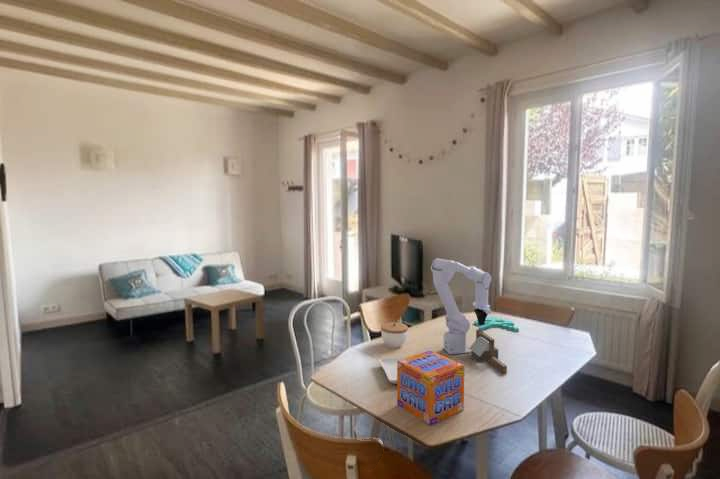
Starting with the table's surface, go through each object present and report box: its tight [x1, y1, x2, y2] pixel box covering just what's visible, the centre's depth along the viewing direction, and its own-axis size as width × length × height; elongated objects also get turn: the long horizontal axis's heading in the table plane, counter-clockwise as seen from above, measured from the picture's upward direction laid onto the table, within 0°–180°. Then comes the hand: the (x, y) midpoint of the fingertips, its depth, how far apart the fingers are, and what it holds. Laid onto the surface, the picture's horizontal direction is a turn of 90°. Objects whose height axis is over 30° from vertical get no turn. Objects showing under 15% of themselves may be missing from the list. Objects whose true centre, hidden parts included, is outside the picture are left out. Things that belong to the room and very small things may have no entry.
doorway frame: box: [475, 329, 508, 375], centre depth 167 cm, size 2×23×10 cm, turn 11°
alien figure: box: [474, 316, 520, 333], centre depth 216 cm, size 20×2×20 cm
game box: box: [396, 350, 465, 426], centre depth 131 cm, size 16×16×16 cm
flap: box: [469, 336, 489, 357], centre depth 172 cm, size 1×9×7 cm
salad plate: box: [377, 356, 409, 385], centre depth 157 cm, size 21×21×3 cm
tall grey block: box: [470, 346, 499, 362], centre depth 172 cm, size 10×5×4 cm, turn 100°
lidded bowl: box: [380, 321, 409, 349], centre depth 188 cm, size 13×13×11 cm
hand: (481, 324), depth 188 cm, fingers closed
